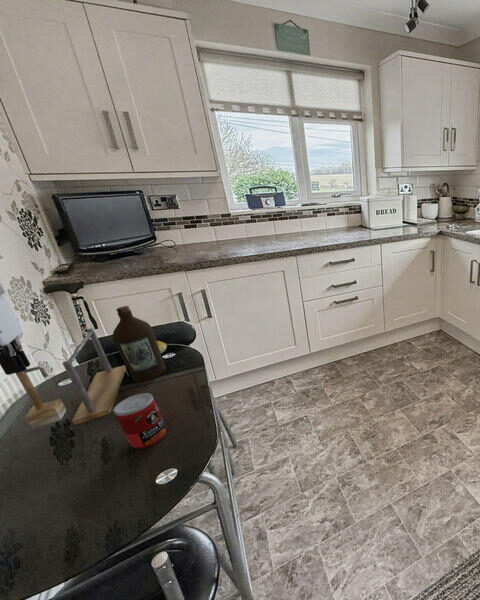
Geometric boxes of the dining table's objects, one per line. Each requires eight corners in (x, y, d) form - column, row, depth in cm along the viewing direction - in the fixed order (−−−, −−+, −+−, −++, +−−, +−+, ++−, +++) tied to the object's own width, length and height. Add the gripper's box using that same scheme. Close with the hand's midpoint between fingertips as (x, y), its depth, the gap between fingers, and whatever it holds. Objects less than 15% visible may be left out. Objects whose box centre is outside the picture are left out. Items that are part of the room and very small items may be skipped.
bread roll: (138, 360, 123) (134, 351, 122) (146, 350, 131) (142, 341, 130) (163, 355, 126) (160, 346, 124) (169, 345, 134) (166, 336, 132)
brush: (32, 429, 76) (-12, 355, 69) (39, 418, 80) (-2, 347, 73) (65, 418, 79) (26, 347, 72) (70, 408, 82) (34, 339, 75)
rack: (74, 425, 90) (43, 370, 84) (98, 376, 115) (75, 330, 108) (110, 413, 94) (83, 359, 88) (126, 368, 118) (106, 323, 112)
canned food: (149, 451, 79) (132, 414, 75) (122, 448, 80) (104, 412, 76) (174, 428, 86) (160, 393, 82) (149, 426, 87) (134, 392, 83)
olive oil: (132, 373, 115) (103, 307, 106) (167, 362, 120) (143, 299, 111) (130, 387, 106) (98, 317, 98) (168, 374, 112) (141, 307, 103)
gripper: (-31, 288, 72) (10, 361, 78) (-77, 309, 59) (-24, 393, 66) (17, 281, 75) (53, 351, 82) (-17, 299, 63) (28, 380, 69)
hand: (18, 369), depth 74 cm, fingers closed on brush, 1 cm apart
